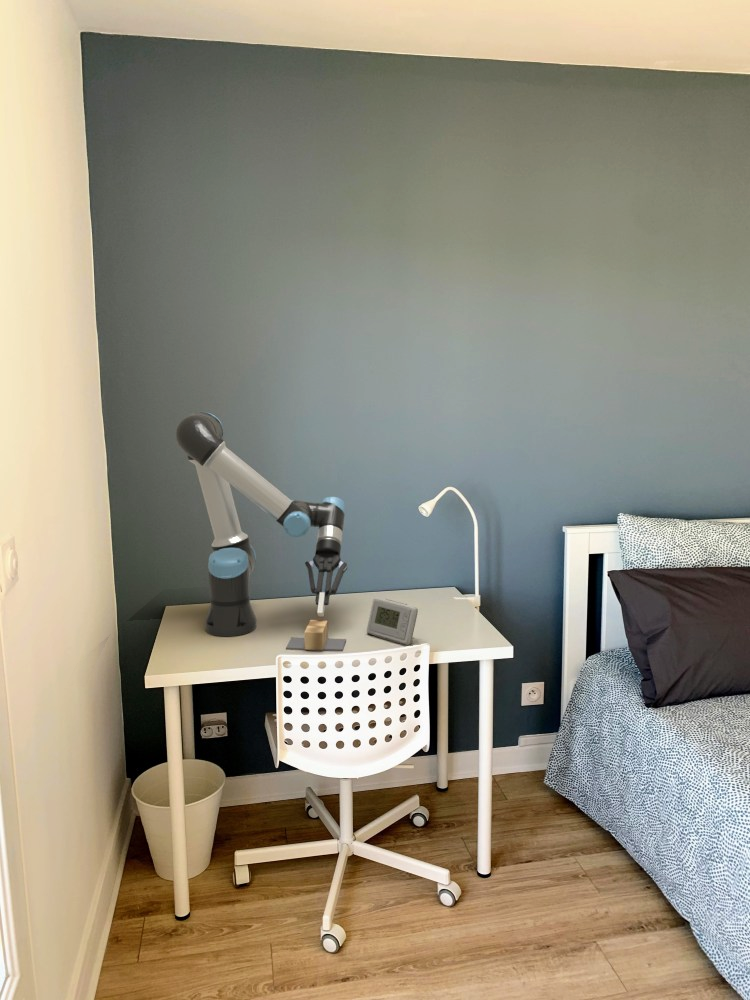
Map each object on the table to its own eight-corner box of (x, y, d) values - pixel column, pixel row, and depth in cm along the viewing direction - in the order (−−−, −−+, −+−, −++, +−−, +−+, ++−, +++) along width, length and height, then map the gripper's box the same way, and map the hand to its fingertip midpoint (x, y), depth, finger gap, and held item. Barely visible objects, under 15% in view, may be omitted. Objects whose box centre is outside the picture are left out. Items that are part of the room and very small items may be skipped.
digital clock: (363, 633, 228) (363, 599, 226) (386, 626, 234) (386, 593, 232) (399, 649, 216) (399, 613, 214) (423, 642, 222) (423, 606, 220)
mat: (285, 649, 216) (285, 647, 216) (291, 638, 224) (291, 637, 224) (342, 651, 215) (342, 649, 215) (346, 640, 223) (346, 638, 223)
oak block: (310, 636, 225) (304, 649, 215) (310, 619, 224) (304, 632, 214) (327, 636, 224) (322, 649, 215) (327, 620, 224) (322, 632, 214)
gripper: (351, 550, 239) (344, 620, 226) (309, 549, 240) (300, 619, 227) (348, 538, 232) (341, 609, 220) (306, 537, 234) (296, 608, 221)
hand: (320, 614), depth 223 cm, fingers closed
